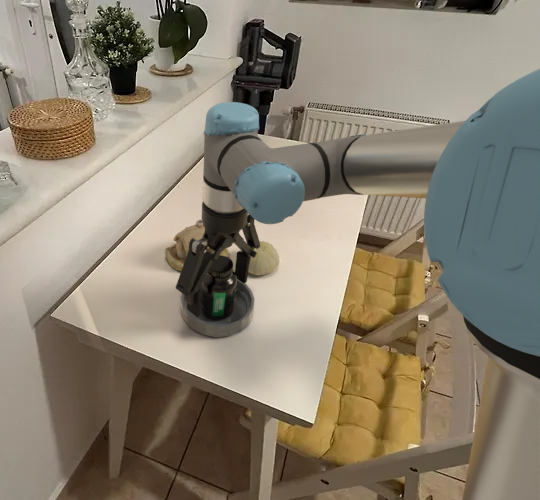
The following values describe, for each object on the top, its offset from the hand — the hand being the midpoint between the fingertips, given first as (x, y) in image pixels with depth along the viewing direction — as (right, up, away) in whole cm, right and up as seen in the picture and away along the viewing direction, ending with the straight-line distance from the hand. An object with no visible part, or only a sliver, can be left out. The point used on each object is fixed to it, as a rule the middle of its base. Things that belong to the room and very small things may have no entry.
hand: (218, 295), depth 83 cm
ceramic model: (-4, +7, +15) cm, 17 cm away
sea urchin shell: (+10, +5, +14) cm, 18 cm away
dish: (0, -3, +3) cm, 4 cm away
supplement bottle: (0, -3, +3) cm, 4 cm away
